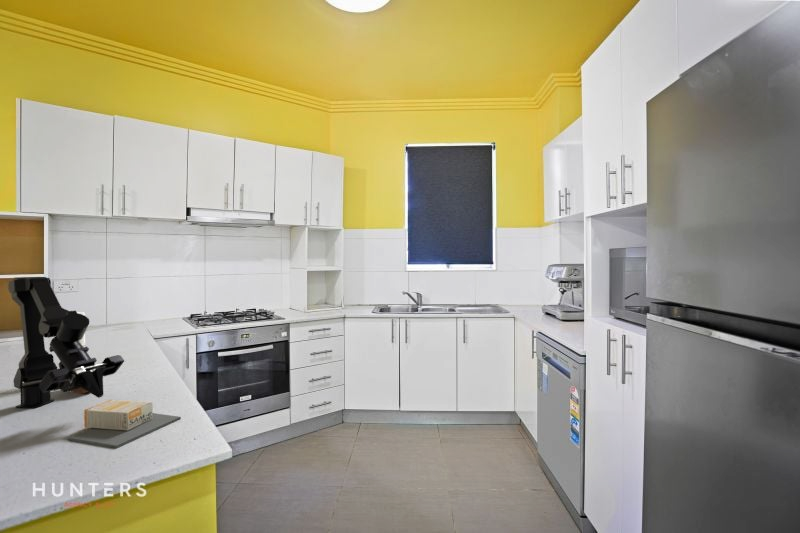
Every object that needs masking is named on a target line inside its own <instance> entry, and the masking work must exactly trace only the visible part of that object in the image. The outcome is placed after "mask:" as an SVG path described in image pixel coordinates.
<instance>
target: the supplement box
mask: <svg viewBox="0 0 800 533" xmlns="http://www.w3.org/2000/svg"><path fill="white" fill-rule="evenodd" d="M83 412H84V413H83V416H84V418H83V419H84V424H83V426H84V428H88V429H91V428H100V429H114V430H130V429H132V428H134V427H136V426H138V425H140V424H142V423H144V422H146V421H148V420H151V419H152V413H153V402H152V401H141V400H140V401H139V400H138V401H137V400H121V399H119V400H118V399H109V400H107V401H104V402H101V403H99V404H96V405H95V406H91V407H89V408H86V409H84V411H83Z"/></svg>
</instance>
